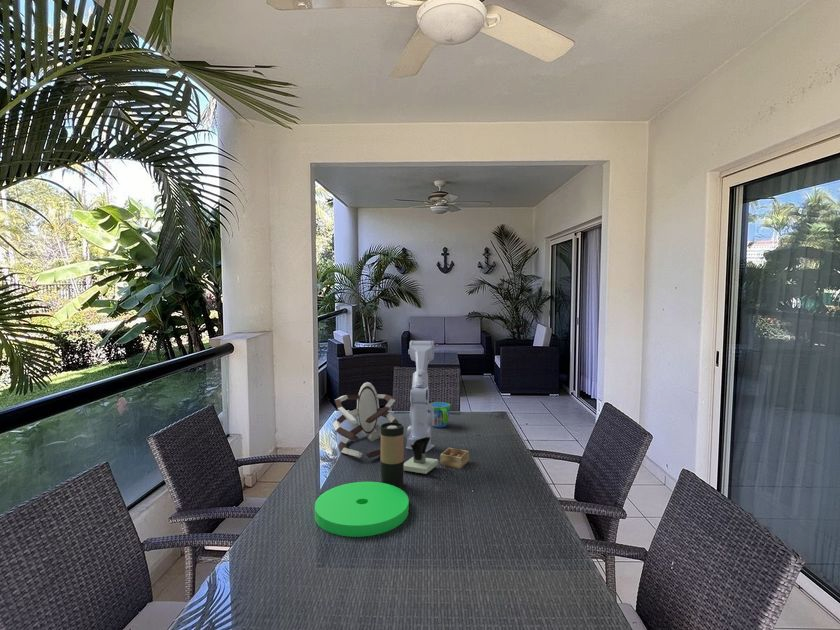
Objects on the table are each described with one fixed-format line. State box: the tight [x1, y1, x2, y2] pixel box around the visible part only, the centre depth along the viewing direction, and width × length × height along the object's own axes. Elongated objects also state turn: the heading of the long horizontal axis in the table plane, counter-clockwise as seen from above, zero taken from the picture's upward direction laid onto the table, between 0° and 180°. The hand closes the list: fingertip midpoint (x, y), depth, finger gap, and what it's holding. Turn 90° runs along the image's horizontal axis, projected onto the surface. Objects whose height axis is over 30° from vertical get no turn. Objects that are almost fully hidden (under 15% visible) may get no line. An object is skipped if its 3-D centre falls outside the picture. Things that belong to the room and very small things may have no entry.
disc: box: [314, 481, 410, 538], centre depth 132 cm, size 27×27×3 cm
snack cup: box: [430, 401, 452, 428], centre depth 214 cm, size 16×10×10 cm
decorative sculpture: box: [332, 381, 399, 459], centre depth 185 cm, size 24×27×35 cm
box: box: [439, 447, 469, 470], centre depth 168 cm, size 8×8×4 cm
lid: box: [404, 453, 439, 475], centre depth 162 cm, size 10×10×5 cm
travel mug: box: [380, 422, 405, 489], centre depth 149 cm, size 8×8×20 cm
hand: (419, 458), depth 162 cm, fingers closed on lid
